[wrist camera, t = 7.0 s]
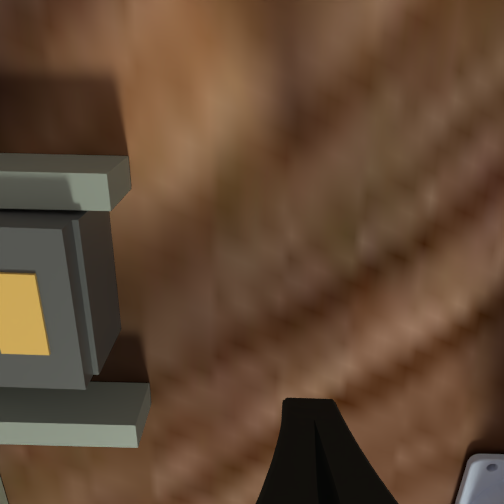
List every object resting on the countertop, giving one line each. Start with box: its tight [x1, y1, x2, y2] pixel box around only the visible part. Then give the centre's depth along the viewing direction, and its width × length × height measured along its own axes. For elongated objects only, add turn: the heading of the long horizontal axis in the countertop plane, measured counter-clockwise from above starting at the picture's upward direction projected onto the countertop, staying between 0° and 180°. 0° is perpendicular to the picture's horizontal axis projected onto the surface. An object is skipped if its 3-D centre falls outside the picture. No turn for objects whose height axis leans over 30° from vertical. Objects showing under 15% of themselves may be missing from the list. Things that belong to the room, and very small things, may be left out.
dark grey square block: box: [0, 208, 121, 390], centre depth 16 cm, size 7×6×4 cm
